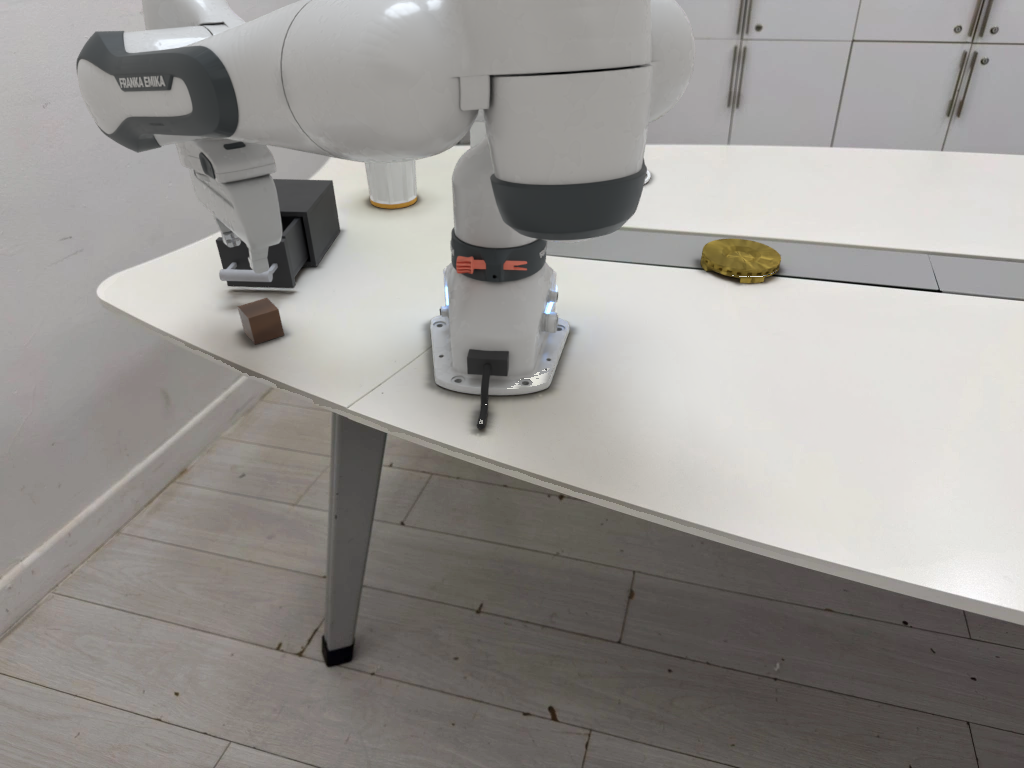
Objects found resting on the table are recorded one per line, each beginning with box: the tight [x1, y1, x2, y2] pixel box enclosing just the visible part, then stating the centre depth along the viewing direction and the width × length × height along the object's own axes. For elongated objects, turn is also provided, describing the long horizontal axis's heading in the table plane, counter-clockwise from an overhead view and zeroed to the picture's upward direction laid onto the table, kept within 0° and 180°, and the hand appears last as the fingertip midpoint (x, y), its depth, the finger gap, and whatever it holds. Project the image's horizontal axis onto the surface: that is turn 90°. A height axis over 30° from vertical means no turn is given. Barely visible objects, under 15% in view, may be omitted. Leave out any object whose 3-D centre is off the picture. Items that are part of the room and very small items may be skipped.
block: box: [237, 297, 285, 346], centre depth 89 cm, size 4×4×4 cm
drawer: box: [215, 216, 310, 289], centre depth 101 cm, size 18×10×7 cm, turn 177°
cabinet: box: [273, 178, 341, 268], centre depth 111 cm, size 15×11×9 cm
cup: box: [364, 160, 418, 210], centre depth 126 cm, size 11×11×17 cm
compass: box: [700, 237, 782, 284], centre depth 107 cm, size 12×12×2 cm
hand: (246, 257), depth 84 cm, fingers open, 8 cm apart
